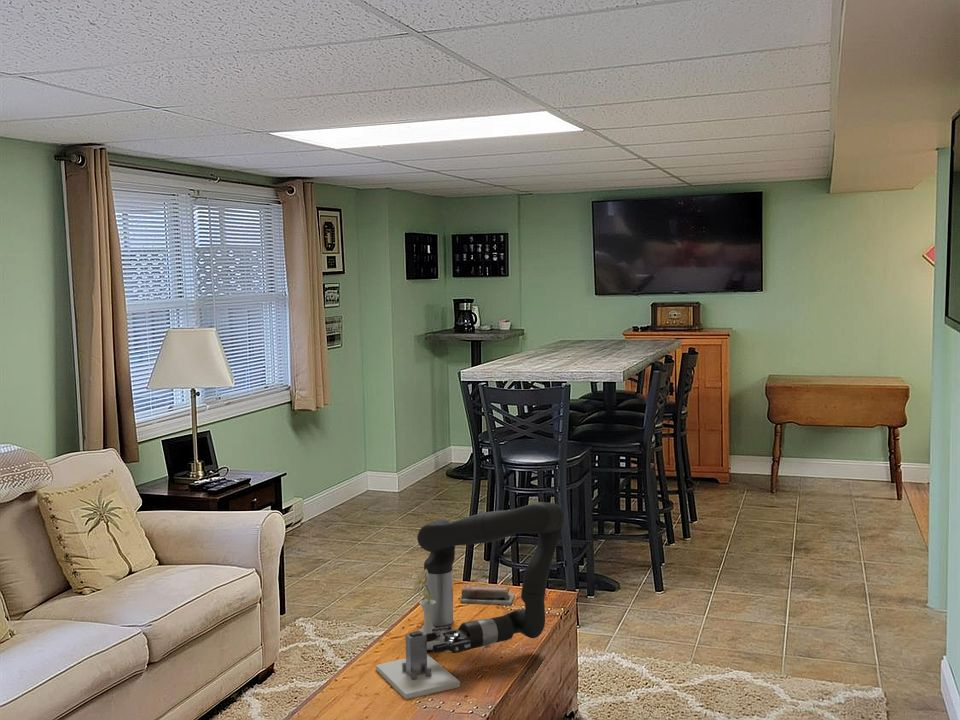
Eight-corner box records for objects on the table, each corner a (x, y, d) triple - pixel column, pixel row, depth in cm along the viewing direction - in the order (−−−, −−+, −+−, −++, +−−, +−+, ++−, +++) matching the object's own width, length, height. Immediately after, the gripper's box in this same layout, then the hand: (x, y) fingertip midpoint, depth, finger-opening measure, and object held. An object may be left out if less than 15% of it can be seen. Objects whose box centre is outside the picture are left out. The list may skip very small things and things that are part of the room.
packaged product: (459, 590, 325) (464, 581, 335) (459, 604, 326) (465, 595, 336) (510, 592, 322) (515, 583, 332) (511, 606, 322) (515, 597, 332)
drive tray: (375, 669, 270) (375, 658, 270) (427, 659, 278) (426, 647, 277) (405, 699, 251) (405, 686, 251) (459, 686, 258) (459, 674, 258)
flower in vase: (411, 639, 293) (409, 560, 291) (448, 639, 293) (446, 560, 291) (407, 655, 280) (405, 573, 278) (445, 655, 280) (443, 573, 278)
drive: (406, 672, 264) (405, 632, 263) (422, 669, 267) (421, 629, 266) (410, 676, 262) (410, 636, 261) (427, 673, 264) (426, 633, 263)
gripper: (467, 613, 278) (416, 623, 271) (489, 628, 266) (437, 639, 258) (467, 638, 279) (417, 648, 272) (490, 654, 266) (437, 665, 259)
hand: (427, 643), depth 265 cm, fingers open, 8 cm apart
